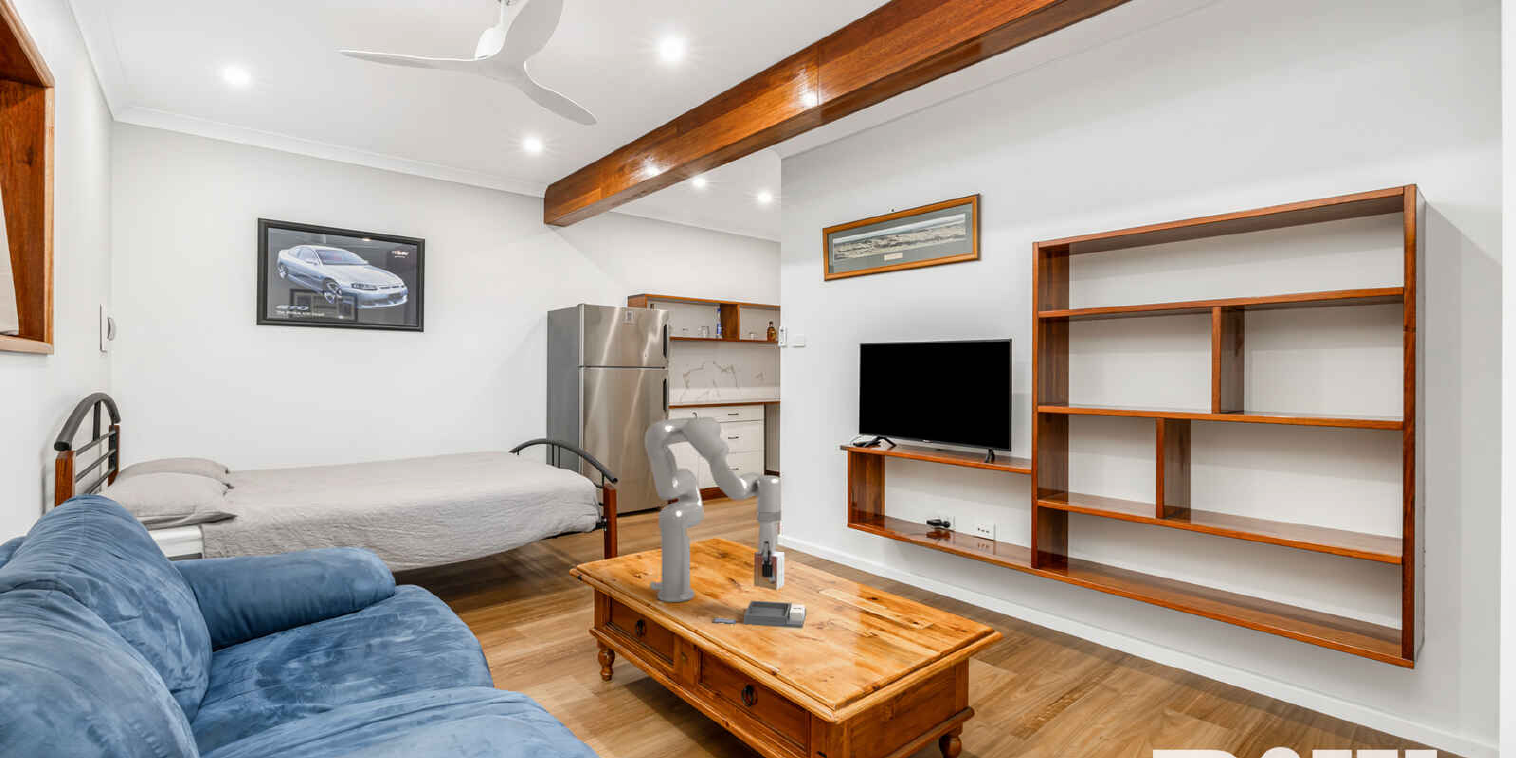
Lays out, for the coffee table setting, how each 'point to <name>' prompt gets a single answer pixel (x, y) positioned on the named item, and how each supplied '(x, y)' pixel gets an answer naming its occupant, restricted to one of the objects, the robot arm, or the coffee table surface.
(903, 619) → the coffee table surface
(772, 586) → the small box
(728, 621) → the phone
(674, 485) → the robot arm
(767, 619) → the grey tray
